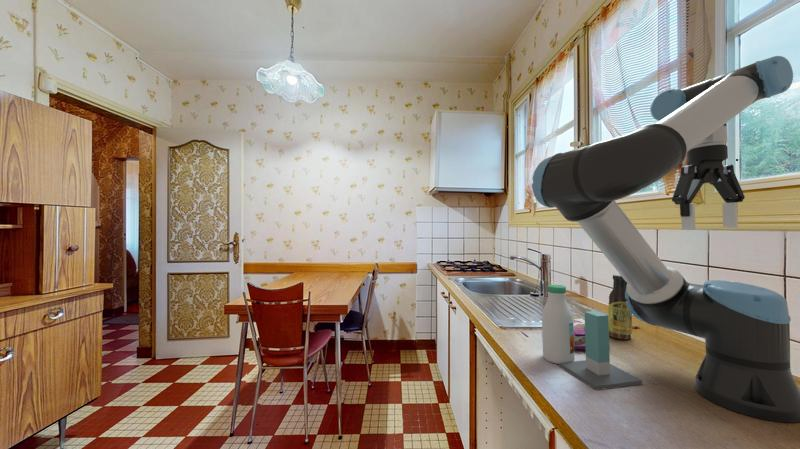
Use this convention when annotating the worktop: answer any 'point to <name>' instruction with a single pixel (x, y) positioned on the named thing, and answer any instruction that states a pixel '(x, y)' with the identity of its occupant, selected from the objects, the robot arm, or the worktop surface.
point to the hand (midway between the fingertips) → (709, 228)
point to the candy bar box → (579, 334)
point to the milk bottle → (557, 327)
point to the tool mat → (603, 381)
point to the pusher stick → (597, 342)
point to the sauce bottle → (619, 310)
